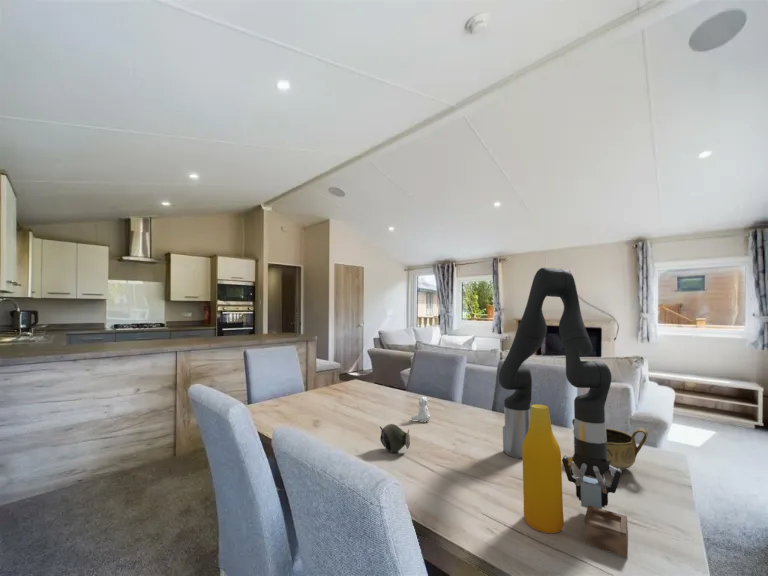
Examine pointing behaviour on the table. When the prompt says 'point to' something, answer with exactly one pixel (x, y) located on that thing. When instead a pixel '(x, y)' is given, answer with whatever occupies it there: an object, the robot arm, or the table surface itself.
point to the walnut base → (606, 531)
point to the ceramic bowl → (622, 447)
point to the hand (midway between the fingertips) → (591, 502)
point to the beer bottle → (542, 474)
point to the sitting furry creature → (422, 410)
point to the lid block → (590, 493)
